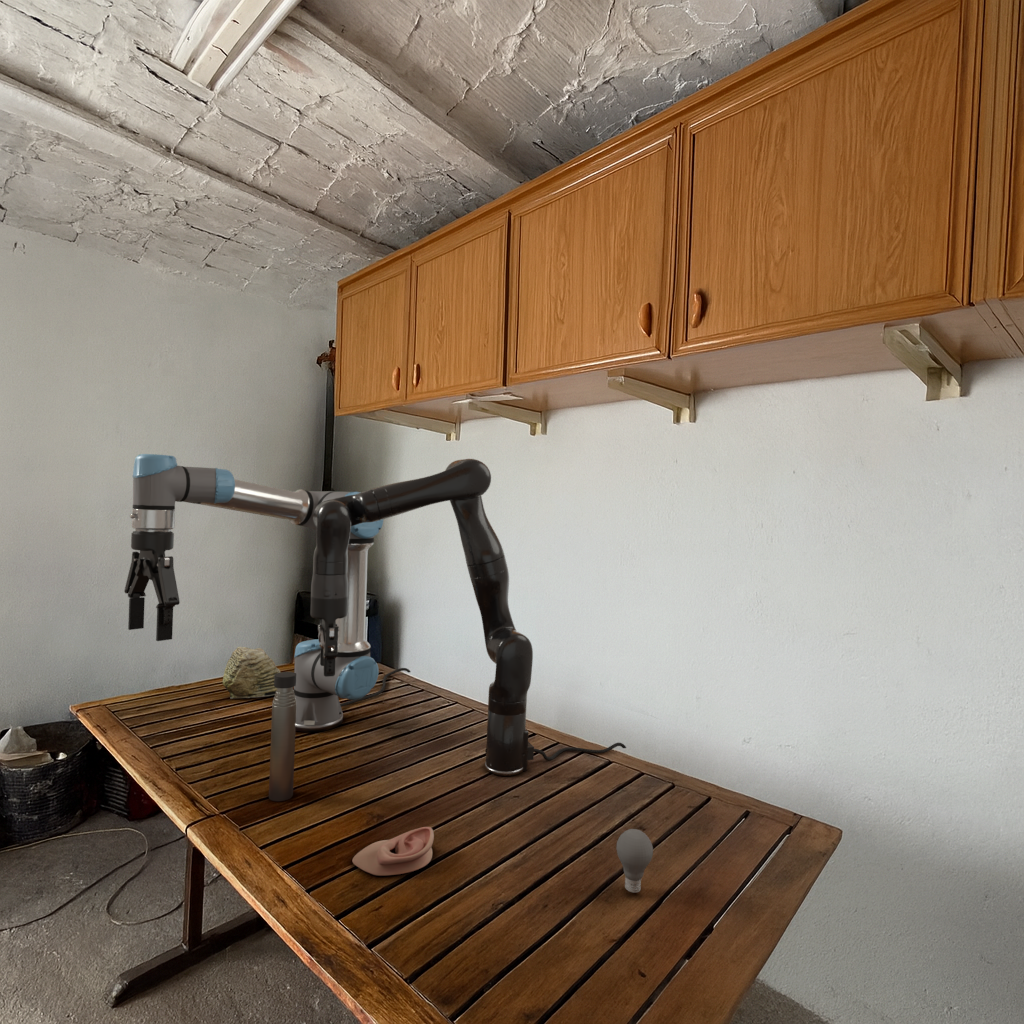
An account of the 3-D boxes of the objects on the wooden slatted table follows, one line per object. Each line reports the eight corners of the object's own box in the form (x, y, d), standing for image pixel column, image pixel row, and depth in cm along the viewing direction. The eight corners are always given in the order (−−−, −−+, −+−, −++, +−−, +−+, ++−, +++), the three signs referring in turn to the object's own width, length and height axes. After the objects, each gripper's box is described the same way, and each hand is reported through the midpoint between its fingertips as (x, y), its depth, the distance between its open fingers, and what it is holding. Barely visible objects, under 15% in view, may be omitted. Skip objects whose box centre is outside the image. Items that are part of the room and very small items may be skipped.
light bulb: (610, 879, 108) (613, 822, 108) (644, 879, 109) (647, 822, 109) (619, 902, 102) (622, 840, 102) (655, 901, 103) (658, 840, 103)
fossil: (218, 695, 195) (220, 647, 195) (278, 685, 208) (279, 640, 207) (228, 703, 189) (230, 653, 188) (289, 692, 201) (290, 645, 201)
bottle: (263, 798, 132) (268, 677, 132) (280, 789, 136) (284, 672, 136) (281, 803, 130) (286, 680, 130) (297, 793, 135) (302, 675, 134)
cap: (269, 686, 132) (269, 675, 132) (284, 681, 136) (284, 670, 136) (285, 689, 130) (286, 678, 130) (300, 684, 134) (300, 673, 134)
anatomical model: (344, 847, 108) (373, 814, 119) (343, 870, 108) (372, 835, 119) (418, 859, 105) (440, 825, 116) (417, 883, 105) (439, 846, 116)
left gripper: (109, 526, 134) (105, 626, 134) (160, 534, 118) (156, 648, 118) (147, 526, 139) (143, 622, 140) (200, 534, 124) (196, 642, 124)
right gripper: (352, 599, 129) (349, 678, 129) (343, 589, 142) (341, 661, 142) (313, 600, 126) (311, 681, 126) (308, 589, 139) (306, 663, 140)
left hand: (149, 634), depth 129 cm, fingers open, 13 cm apart
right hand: (327, 670), depth 134 cm, fingers open, 8 cm apart
